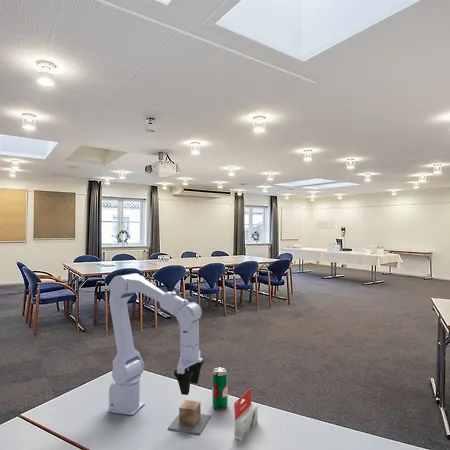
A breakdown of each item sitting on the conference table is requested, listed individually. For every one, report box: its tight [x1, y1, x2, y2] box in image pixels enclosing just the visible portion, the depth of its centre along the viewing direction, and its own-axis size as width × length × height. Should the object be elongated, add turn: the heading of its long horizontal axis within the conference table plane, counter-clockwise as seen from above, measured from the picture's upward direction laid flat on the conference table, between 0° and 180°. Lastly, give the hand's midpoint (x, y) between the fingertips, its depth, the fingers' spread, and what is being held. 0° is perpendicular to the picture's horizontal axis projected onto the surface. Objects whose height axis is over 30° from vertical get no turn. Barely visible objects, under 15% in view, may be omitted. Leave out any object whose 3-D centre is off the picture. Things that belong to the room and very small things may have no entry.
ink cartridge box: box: [233, 388, 259, 442], centre depth 98 cm, size 2×11×10 cm, turn 151°
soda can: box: [211, 367, 229, 410], centre depth 112 cm, size 5×5×12 cm
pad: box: [167, 413, 212, 435], centre depth 102 cm, size 10×10×1 cm
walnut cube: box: [178, 399, 202, 427], centre depth 102 cm, size 5×5×5 cm
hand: (189, 388), depth 102 cm, fingers open, 7 cm apart
